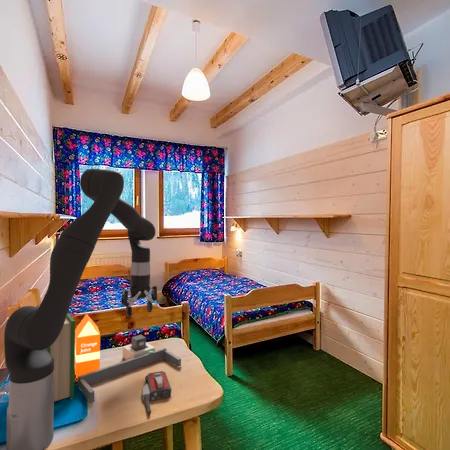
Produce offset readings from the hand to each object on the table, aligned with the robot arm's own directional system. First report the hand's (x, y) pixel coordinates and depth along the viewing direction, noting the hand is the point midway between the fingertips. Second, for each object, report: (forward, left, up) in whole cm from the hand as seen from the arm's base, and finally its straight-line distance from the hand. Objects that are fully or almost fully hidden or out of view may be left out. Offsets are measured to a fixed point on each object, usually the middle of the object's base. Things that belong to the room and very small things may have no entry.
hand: (139, 313), depth 118 cm
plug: (0, 0, -17) cm, 17 cm away
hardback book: (-30, -2, -18) cm, 35 cm away
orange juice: (-19, +3, -18) cm, 26 cm away
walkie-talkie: (-7, -26, -19) cm, 33 cm away
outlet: (0, 0, -18) cm, 18 cm away
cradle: (-8, -10, -18) cm, 22 cm away
